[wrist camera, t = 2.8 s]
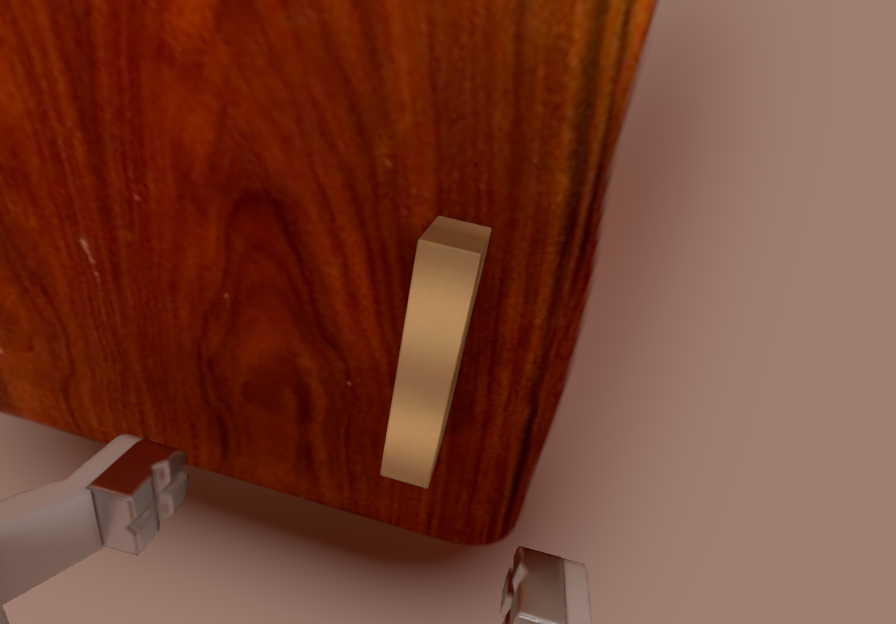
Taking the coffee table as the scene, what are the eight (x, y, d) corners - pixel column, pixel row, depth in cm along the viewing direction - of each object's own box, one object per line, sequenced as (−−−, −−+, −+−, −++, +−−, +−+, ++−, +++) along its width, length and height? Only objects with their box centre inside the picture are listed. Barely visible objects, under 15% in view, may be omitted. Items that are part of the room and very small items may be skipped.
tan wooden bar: (437, 214, 17) (417, 238, 15) (492, 227, 17) (481, 254, 15) (400, 428, 22) (379, 475, 19) (442, 439, 22) (427, 489, 19)
